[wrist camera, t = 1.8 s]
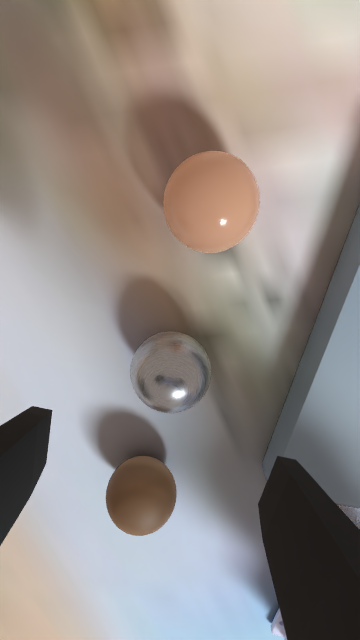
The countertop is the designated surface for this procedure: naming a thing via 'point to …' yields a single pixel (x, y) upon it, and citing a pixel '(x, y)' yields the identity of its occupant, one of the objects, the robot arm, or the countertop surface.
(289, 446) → the hole plate
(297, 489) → the robot arm
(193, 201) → the terracotta ball
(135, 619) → the countertop surface
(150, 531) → the walnut ball
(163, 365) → the steel ball
